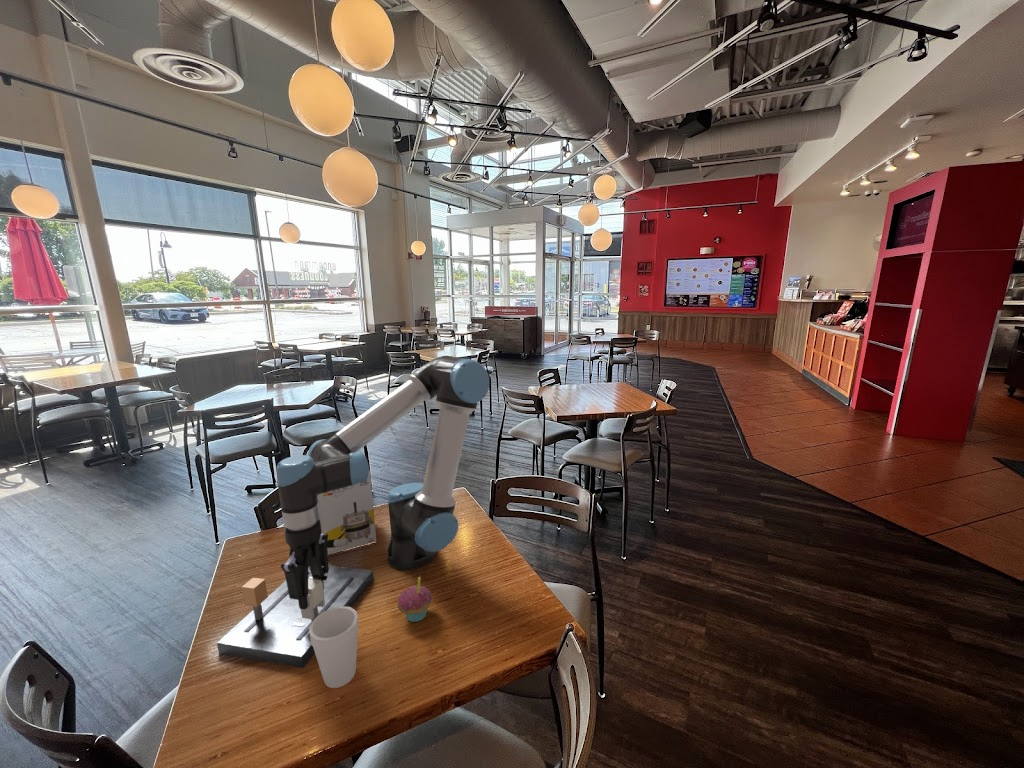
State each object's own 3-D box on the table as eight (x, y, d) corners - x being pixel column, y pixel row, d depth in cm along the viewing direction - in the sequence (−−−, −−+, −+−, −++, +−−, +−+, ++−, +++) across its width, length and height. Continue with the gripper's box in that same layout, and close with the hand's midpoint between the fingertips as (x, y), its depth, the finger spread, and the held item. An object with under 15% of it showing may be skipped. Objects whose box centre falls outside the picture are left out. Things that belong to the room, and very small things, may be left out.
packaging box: (323, 556, 131) (314, 483, 126) (322, 532, 146) (314, 465, 141) (376, 543, 138) (370, 473, 133) (370, 520, 152) (364, 456, 148)
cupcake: (439, 607, 108) (436, 566, 106) (421, 631, 100) (418, 588, 98) (410, 600, 111) (407, 560, 109) (391, 623, 103) (387, 580, 101)
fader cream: (325, 615, 102) (321, 580, 100) (316, 625, 99) (312, 589, 97) (313, 613, 102) (308, 578, 101) (304, 623, 99) (299, 587, 97)
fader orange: (270, 613, 103) (265, 579, 101) (259, 624, 99) (253, 588, 97) (258, 612, 103) (253, 577, 101) (247, 622, 100) (241, 586, 98)
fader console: (374, 579, 120) (373, 569, 119) (304, 668, 91) (302, 656, 90) (306, 571, 124) (304, 562, 123) (218, 653, 95) (216, 641, 94)
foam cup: (325, 658, 93) (319, 607, 91) (367, 654, 94) (362, 604, 91) (309, 697, 84) (301, 642, 81) (355, 693, 85) (349, 638, 82)
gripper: (311, 504, 104) (322, 586, 109) (260, 541, 88) (275, 635, 93) (338, 506, 103) (347, 590, 107) (290, 544, 87) (304, 640, 91)
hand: (314, 611), depth 100 cm, fingers closed on fader cream, 3 cm apart
